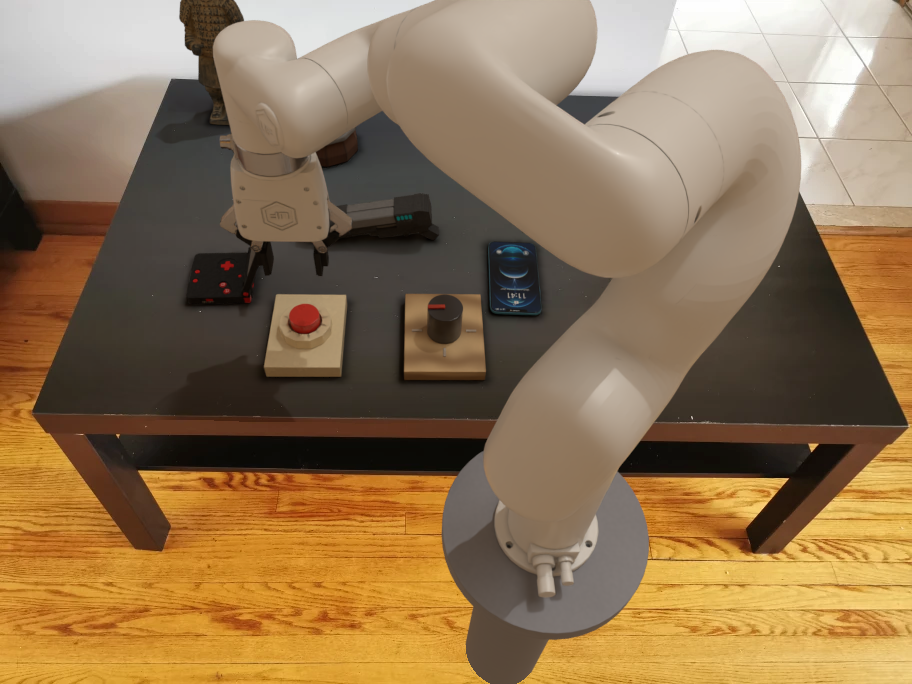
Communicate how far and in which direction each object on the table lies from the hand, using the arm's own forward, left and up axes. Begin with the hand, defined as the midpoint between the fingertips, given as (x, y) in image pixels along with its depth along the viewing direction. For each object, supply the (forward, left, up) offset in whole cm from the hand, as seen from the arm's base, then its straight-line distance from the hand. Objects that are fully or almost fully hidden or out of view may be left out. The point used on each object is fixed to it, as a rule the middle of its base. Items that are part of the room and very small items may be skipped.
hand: (295, 266), depth 88 cm
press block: (0, 0, -15) cm, 15 cm away
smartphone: (+12, -30, -15) cm, 35 cm away
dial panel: (0, -19, -15) cm, 24 cm away
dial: (0, -19, -12) cm, 23 cm away
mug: (+46, +1, -15) cm, 48 cm away
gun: (+21, -8, -15) cm, 27 cm away
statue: (+53, +19, -15) cm, 58 cm away
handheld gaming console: (+11, +12, -15) cm, 22 cm away
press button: (0, 0, -11) cm, 11 cm away
